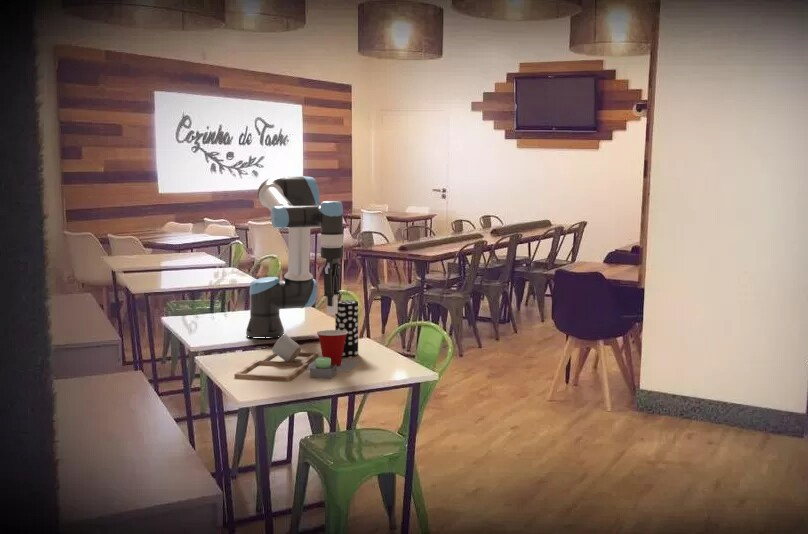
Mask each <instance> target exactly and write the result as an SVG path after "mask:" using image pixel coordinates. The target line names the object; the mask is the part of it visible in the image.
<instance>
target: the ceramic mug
mask: <svg viewBox="0 0 808 534" xmlns="http://www.w3.org/2000/svg"><path fill="white" fill-rule="evenodd" d="M271 351H272V352H274V353H275V354H276V356H278V357H279V358H281V359H282V360H283V361H284V362H294V361H296V359H297V358H298V357H299V356H298V355H299V353H300V352H302V347H301V345H299V344H298V343H297V342H296V341H294V340H293V339H292V338H291V337H290V336H289V335H288V334H285V333H284V335H282V336H281V337H278V338H277V340H276V342H275V343H274V344H273V347H272V349H271ZM272 352H271V353H272Z"/></svg>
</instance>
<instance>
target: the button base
mask: <svg viewBox="0 0 808 534" xmlns="http://www.w3.org/2000/svg"><path fill="white" fill-rule="evenodd" d="M336 375H337V365H336V364H331V367H328V368H317V367H316V364H314V365H313V366H312V367H311V368H310V370H309V378H310V379H322V380H323V379H324V380H331V379H332V378H333V377H335V376H336Z"/></svg>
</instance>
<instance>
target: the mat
mask: <svg viewBox="0 0 808 534" xmlns="http://www.w3.org/2000/svg"><path fill="white" fill-rule="evenodd" d="M360 362H361V360H358V359H357V360H356V359H344V358H342V361H341V365H340V366H337V372H338V373H340V372H341V373H350V372H351V370H353V369H354V367H355V366H357V365H358V364H359V363H360ZM314 364H316V359H314V360H312V361H311V362H310V363H309V364H308V367H307V368H305V369H304V370H303V371H305V370H306V371H310V368H311V367H312V366H313V365H314Z"/></svg>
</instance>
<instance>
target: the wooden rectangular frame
mask: <svg viewBox="0 0 808 534" xmlns="http://www.w3.org/2000/svg"><path fill="white" fill-rule="evenodd" d="M276 356H277V355H276V354H275V353H274V352H271V353H269V354H268V355H265V357H262V359H260V360H259V359H258V360H257V359H256V360H255V361H253V362H251V363H249V364H248V365H247V366H245V367H244V368H241V369H240V370H238V371H237V372H235V373H234V379H244V380H245V379H247V380H258V381H259V380H263V381H276V382H291V381H293V379H295V378H296V377H297V376H299V375H300V374H301V373H302V372H303V371H305V370H304V369H305V368H307V367H308V365H309V364H311V363H312V362H313V361H314V360H316V358H318V357H319V352H311V351H310V352H306V351H301V352H300V353H299V355H298V356H297V357H307V358H306V359H304V360H303V361H302V362H294V361H293V362H286V361H279V360H277V361H275V360H272V359H273V358H275V357H276ZM257 366H275V367H291V368H292V367H293V368H296V369H295V370H293V372H291V373H290V374H289V375H269V374H257V373H256V374H254V373H248V372H250V371H252V370H253V369H254V368H256V367H257Z"/></svg>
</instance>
